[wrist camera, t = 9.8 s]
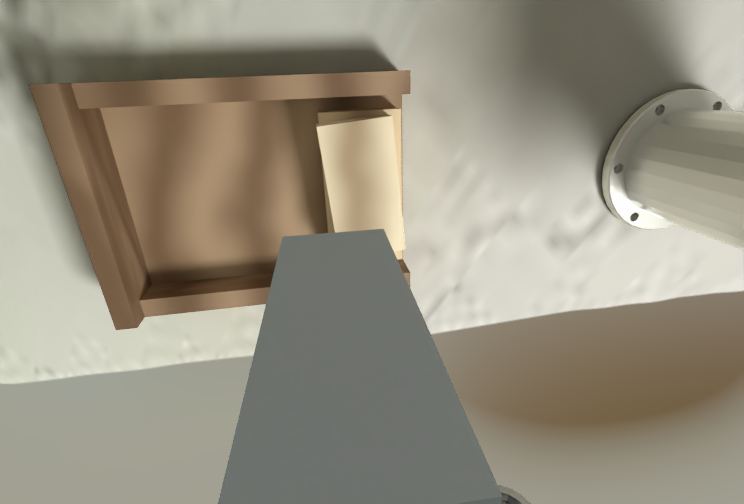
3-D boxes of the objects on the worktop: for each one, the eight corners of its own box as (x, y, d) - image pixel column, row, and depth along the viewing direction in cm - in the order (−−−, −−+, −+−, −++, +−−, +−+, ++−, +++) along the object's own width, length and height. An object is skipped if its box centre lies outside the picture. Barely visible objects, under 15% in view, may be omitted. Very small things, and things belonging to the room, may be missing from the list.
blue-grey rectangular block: (383, 228, 10) (501, 496, 3) (391, 476, 13) (455, 832, 7) (282, 236, 10) (209, 540, 3) (317, 486, 13) (315, 865, 7)
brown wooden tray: (399, 71, 30) (415, 69, 26) (401, 270, 37) (414, 296, 32) (75, 84, 27) (28, 84, 23) (141, 297, 34) (116, 329, 29)
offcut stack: (395, 107, 30) (407, 110, 27) (397, 249, 35) (407, 269, 31) (314, 111, 30) (315, 115, 26) (327, 256, 34) (330, 277, 31)
